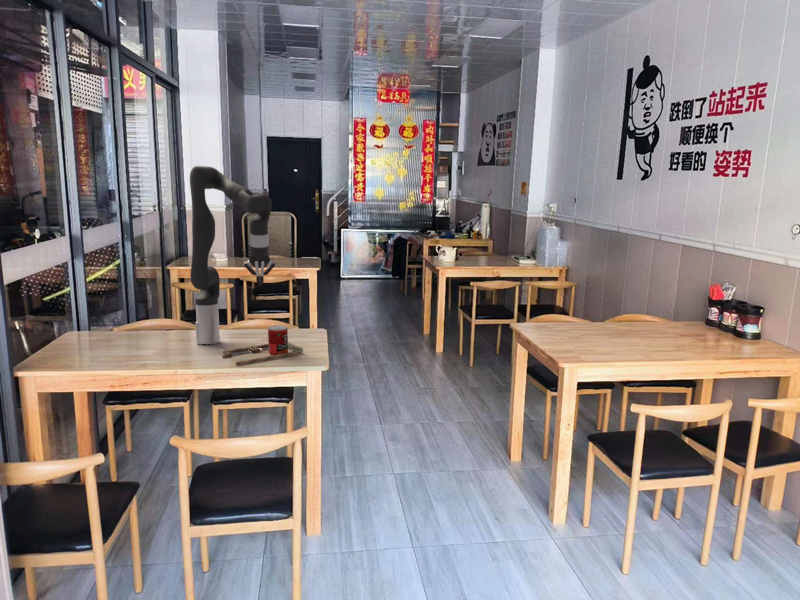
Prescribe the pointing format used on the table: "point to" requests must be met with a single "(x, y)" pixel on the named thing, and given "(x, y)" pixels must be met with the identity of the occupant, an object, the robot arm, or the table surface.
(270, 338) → the canned food
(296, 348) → the brown pliers
